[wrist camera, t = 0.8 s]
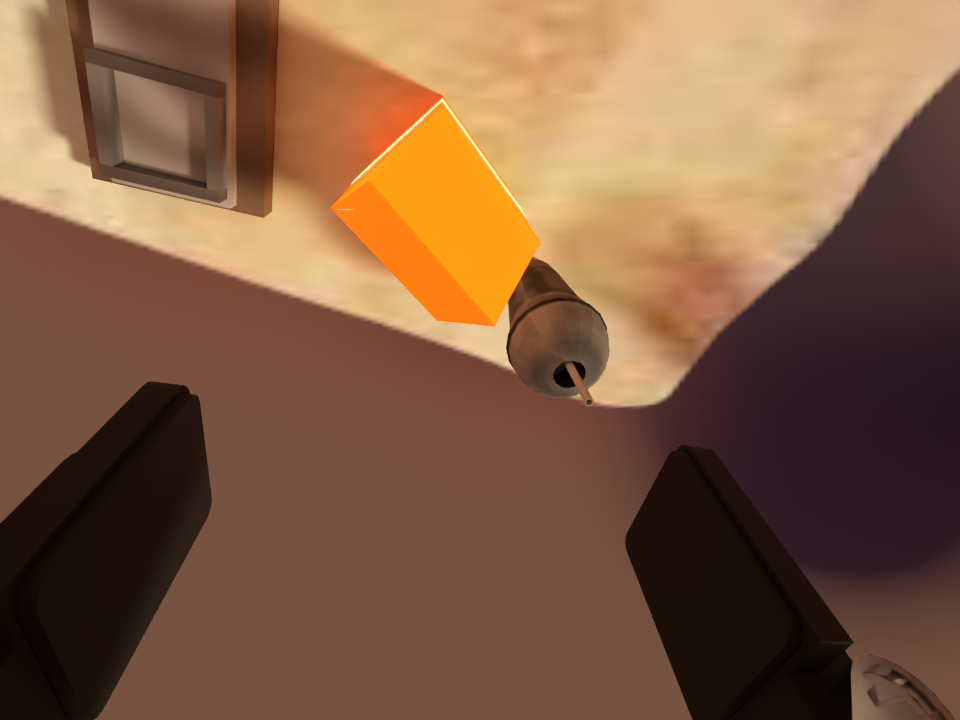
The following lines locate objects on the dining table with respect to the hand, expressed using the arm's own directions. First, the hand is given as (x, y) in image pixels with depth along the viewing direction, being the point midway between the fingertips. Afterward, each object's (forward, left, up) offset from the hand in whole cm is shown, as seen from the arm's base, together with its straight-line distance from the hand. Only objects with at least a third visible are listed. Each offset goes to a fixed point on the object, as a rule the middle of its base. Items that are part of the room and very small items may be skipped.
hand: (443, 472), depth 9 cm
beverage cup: (+7, +10, -33) cm, 35 cm away
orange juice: (0, 0, -33) cm, 33 cm away
